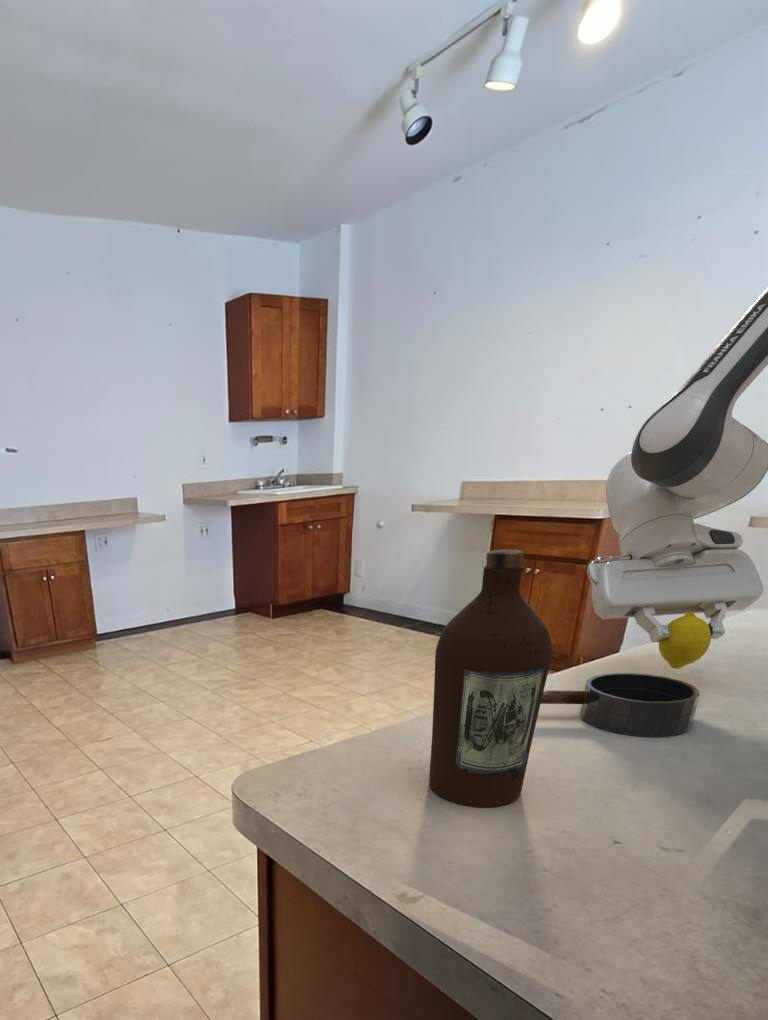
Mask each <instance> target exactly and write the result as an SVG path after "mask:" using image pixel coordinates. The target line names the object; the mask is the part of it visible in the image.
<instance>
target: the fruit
mask: <svg viewBox="0 0 768 1020" xmlns="http://www.w3.org/2000/svg"><path fill="white" fill-rule="evenodd" d="M708 624H709V623H708V622H706V620H704V619H702V618H700V617H697V616H696V613H694V612H692V611H689V612H688V613H686V614H683V616H680V617H677V618H675V619H673V620H671V621H670V622H669V623H668V624H667V625H668V628H669V629H668V631H669V632H670V637H669V638H668V639H666V641H664V642H658V650H659V653H660V655H661V657H662V658H663V659H664V661H666V662H667V663H668V665H669V667H670V668H672V669H674V670H679V669H682V668H684V667H685V666H687V665H690V664H693V663H695V662H697V661H698V660H700V659H701V658H702V657H703V656H704V655H705V654H706V653H707V652H708V649H709V648H710V646H711V640H712V639H711V633H710V628H709V626H708Z"/></svg>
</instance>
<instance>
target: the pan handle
mask: <svg viewBox="0 0 768 1020" xmlns="http://www.w3.org/2000/svg"><path fill="white" fill-rule="evenodd" d="M587 701H588V692H587V691H584V690H551V689H550V690H548V689H547V690H546V689H544V691H543V696H542V700H541V704H540V705H582V704H586V703H587Z"/></svg>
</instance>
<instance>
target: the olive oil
mask: <svg viewBox="0 0 768 1020" xmlns="http://www.w3.org/2000/svg"><path fill="white" fill-rule="evenodd" d="M524 554H525V551H523V550H521V549H511V548H510V549H508V548H507V549H506V548H505V549H493V550H489V551H487V552H486V557H485V558H486V559H485V560H486V565H485V566H483V571H482V572H483V573H482V574H483V575H482V582H481V590H480V592H479V593H478V594H477V595H476V596H475V597H474V598H473V599H472V600H471V601H470V602H469V603H468V604H467V605H466V606H465V607H464V608H462V609H461V610H460V611H459V612H458V613H457V614H456V615H455V616H454V617H452V618H451V619H450V621H448V623H446V625H445V626H444V628H443V630H442V631H441V634H440V636H439V638H438V641H437V644H436V647H435V653H434V654H435V655H434V681H433V703H432V704H433V708H432V728H431V730H432V731H431V748H430V761H429V762H430V763H429V778H428V779H429V780H428V784H429V787H430V788H431V789H432V790H433V792H434V793H435V792H436V793H435V794H437V795H438V796H440V797H441V798H443V799H445V800H447V799H448V801H449V802H453V803H456V804H460V805H465V806H471V807H478V808H479V807H480V808H481V807H484V808H486V807H487V808H489V807H499V806H504V805H508V804H511V803H512V802H515V801H516V800H518V799H519V797H520V796H521V794H522V790H523V785H524V781H525V780H524V779H525V776H526V771H527V768H528V767H527V766H528V761H529V756H530V752H531V747H532V743H533V739H534V733H535V730H536V725H537V722H538V716H539V713H540V708H541V705H542V704H541V700H542V696H543V691H544V690H545V687H546V684H547V678H548V674H549V671H550V666H551V663H552V658H553V657H552V656H553V647H552V639H551V634H550V632H549V629H548V627H547V625H546V623H545V622H544V621H543V620H542V618H541V617H540V616H539V614H537V612H536V611H535V610H534V608H532V607H531V605H530V604H529V603H528V601H526V599H525V598H524V597H523V595H522V594H521V591H520V588H521V587H520V586H521V582H522V576H523V570H524V566H523V565H522V562H523V560H524Z"/></svg>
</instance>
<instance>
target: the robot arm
mask: <svg viewBox="0 0 768 1020" xmlns="http://www.w3.org/2000/svg"><path fill="white" fill-rule="evenodd" d="M767 366H768V287H766V289H765V290H764V291H763V292H762V293H761V294H760V295H759V297H758V298H757V299H756V300H755V301H754V302H753V303H752V305H751V306H750V307H749V308H748V309H746V311H745V312H744V314H743V315H742V316H741V317H740V318H739V319H738V321H737V322H736V323H735V324H734V325H733V326H732V328H731V329H730V330H729V331H728V332H727V333H726V335H725V336H724V337H723V338H722V339H721V340H720V342H718V344H717V345H716V347H715V348H714V349H713V350H712V351H711V352H710V354H709V355H708V356H707V357H706V358H705V359H704V360H703V362H702V363H701V364H700V366H699V367H698V368H697V369H696V370H695V371H694V372H693V373H692V374H691V376H690V377H689V378H688V379H687V380H686V381H685V383H684V384H683V385H682V386H681V387H680V388H679V389H678V390H677V391H675V393H674V394H673V395H671V396H670V397H669V398H668V399H667V400H666V401H665V402H664V403H663V404H661V405H660V406H659V407H658V408H657V409H656V410H655V411H653V412H652V414H651V415H650V416H649V417H648V418H647V419H646V420H645V421H644V423H643V424H642V426H641V427H640V429H639V430H638V432H637V434H636V436H635V439H634V441H633V445H632V448H631V452H629V453H628V454H626V455H624V456H623V457H622V458H621V459H620V460H618V461H617V462H616V463H615V465H614V466H613V467H612V468H611V470H610V471H609V474H608V477H607V480H606V484H605V498H606V505H607V510H608V514H609V518H610V521H611V525H612V528H613V529H614V531H615V532H616V533H617V534H618V548H619V552H620V555H613V556H599V557H596V558H595V559H594V560H591V562H589V563H588V564H587V568H586V573H587V577H588V580H589V581H590V583H591V600H592V606H593V611H594V614H595V615H596V616H598V617H599V618H600V619H602V620H613V619H626V618H634V620H635V623H636V625H638V626H639V627H640V628H641V629H643V630H644V631H645V632H646V633H648V636H649V639H650V642H651V643H659V642H664V641H666V639H668V638H669V637H670V632H669V631H668V629H669V628H668V624H661V623H660V622H659V621H658V620H657V619H656V618H655V617H659V616H660V617H661V616H673V615H674V616H675V615H685V614H686V613H688V612H689V611H692V612H694V614H704V616H705V618H706V619H710V620H709V623H708V626H709V628H710V633H711V640H718V639H720V638H721V637H722V636H724V635H725V631H726V630H725V627H724V624H723V621H724V619H725V616H726V614H727V612H733V611H734V612H737V611H738V612H739V611H745V610H746V609H748V608H749V607H750V606H751V605H753V604H755V602H756V601H757V600H759V599H760V598H761V596H762V594H763V593H764V592H763V591H764V585H763V582H762V579H761V576H760V574H759V572H758V569H757V568H756V565H755V563H754V562H753V559H752V558H751V557H750V555H749V554H748V553H746V552H745V551H744V550H741V549H739V548H740V547H741V546H742V545H743V543H744V541H743V540H744V539H743V537H742V536H741V534H740V533H739V532H736V531H732V530H731V531H730V530H724V529H719V528H714V527H710V526H706V525H703V524H700V523H695V522H694V520H696V519H699V518H702V517H704V516H708V515H710V514H712V513H714V512H717V511H719V510H721V509H723V508H725V507H728V506H729V505H732V504H734V503H736V502H738V501H739V500H741V499H743V498H745V497H746V496H747V495H749V494H750V493H751V492H752V491H754V490H755V489H756V487H757V486H758V485H759V484H760V483H761V482H762V480H763V479H764V477H765V475H766V474H767V472H768V442H767V441H766V440H764V439H763V438H762V437H760V435H758V434H757V433H756V432H755V431H753V430H752V429H750V428H749V427H748V426H746V425H745V424H742V423H741V422H740V421H738V420H737V419H736V418H734V417H733V410H734V407H735V405H736V402H737V401H738V399H739V398H740V397H741V395H742V394H743V393H744V392H745V391H746V390H747V389H748V388H749V387H750V385H751V384H752V383H753V382H754V381H755V380H756V379H757V377H758V376H759V375H760V374H761V373H762V372H763V371H764V370H765V368H767Z"/></svg>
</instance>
